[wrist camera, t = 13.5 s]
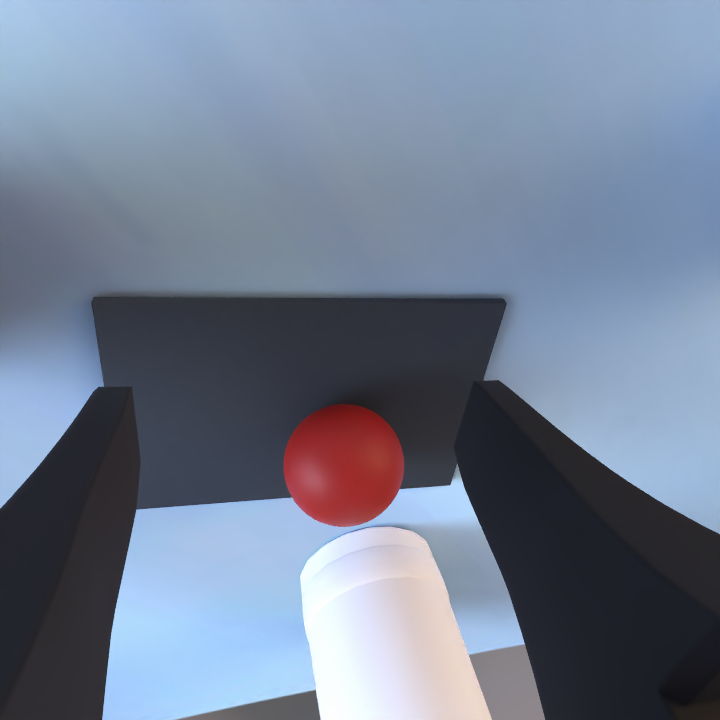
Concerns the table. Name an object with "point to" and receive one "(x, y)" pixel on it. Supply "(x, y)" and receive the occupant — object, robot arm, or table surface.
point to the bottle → (385, 632)
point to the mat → (286, 382)
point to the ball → (343, 465)
